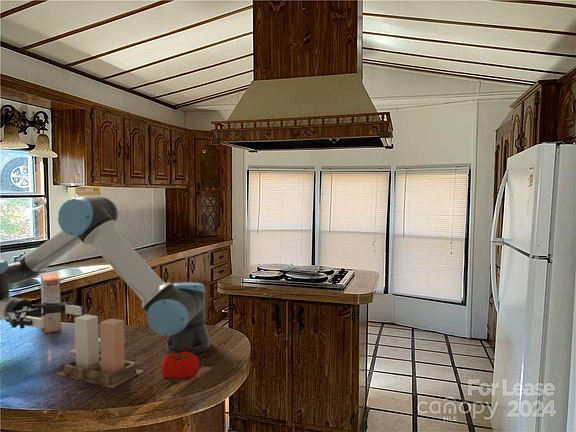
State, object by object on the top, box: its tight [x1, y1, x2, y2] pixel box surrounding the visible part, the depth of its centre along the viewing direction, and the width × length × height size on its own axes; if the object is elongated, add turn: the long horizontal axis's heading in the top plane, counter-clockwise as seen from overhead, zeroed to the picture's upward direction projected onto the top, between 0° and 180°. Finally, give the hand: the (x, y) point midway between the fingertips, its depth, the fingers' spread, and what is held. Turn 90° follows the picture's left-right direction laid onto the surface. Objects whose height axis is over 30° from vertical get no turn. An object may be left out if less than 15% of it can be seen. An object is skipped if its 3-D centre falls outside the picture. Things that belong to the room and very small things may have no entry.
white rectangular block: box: [74, 313, 100, 368], centre depth 125 cm, size 4×5×16 cm
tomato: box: [161, 351, 200, 380], centre depth 125 cm, size 10×11×6 cm
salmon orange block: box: [99, 318, 126, 374], centre depth 122 cm, size 4×5×16 cm
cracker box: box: [40, 272, 62, 334], centre depth 167 cm, size 14×6×21 cm, turn 34°
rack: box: [55, 354, 144, 389], centre depth 124 cm, size 22×12×4 cm, turn 67°
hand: (62, 316), depth 129 cm, fingers open, 13 cm apart
